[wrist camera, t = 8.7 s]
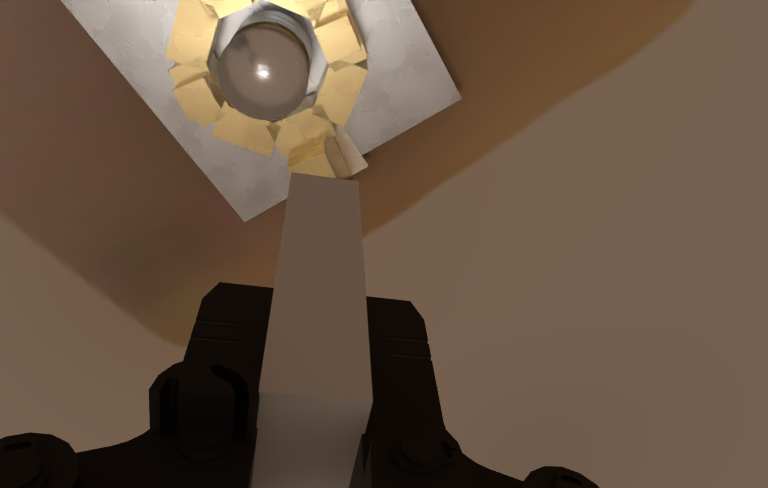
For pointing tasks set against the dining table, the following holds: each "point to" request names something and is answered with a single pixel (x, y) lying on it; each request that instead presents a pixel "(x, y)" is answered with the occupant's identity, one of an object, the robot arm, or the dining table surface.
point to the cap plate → (244, 169)
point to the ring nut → (315, 113)
